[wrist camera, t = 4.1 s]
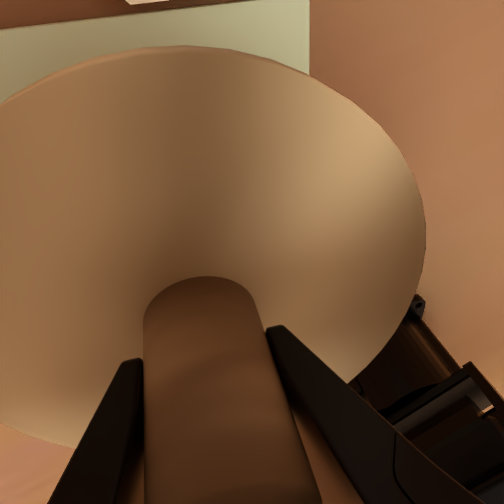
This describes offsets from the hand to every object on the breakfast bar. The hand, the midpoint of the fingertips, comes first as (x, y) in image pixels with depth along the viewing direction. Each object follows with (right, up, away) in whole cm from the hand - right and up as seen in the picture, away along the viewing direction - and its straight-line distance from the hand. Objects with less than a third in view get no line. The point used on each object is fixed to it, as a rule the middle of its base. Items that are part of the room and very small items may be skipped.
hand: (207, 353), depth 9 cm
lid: (0, +1, +1) cm, 2 cm away
